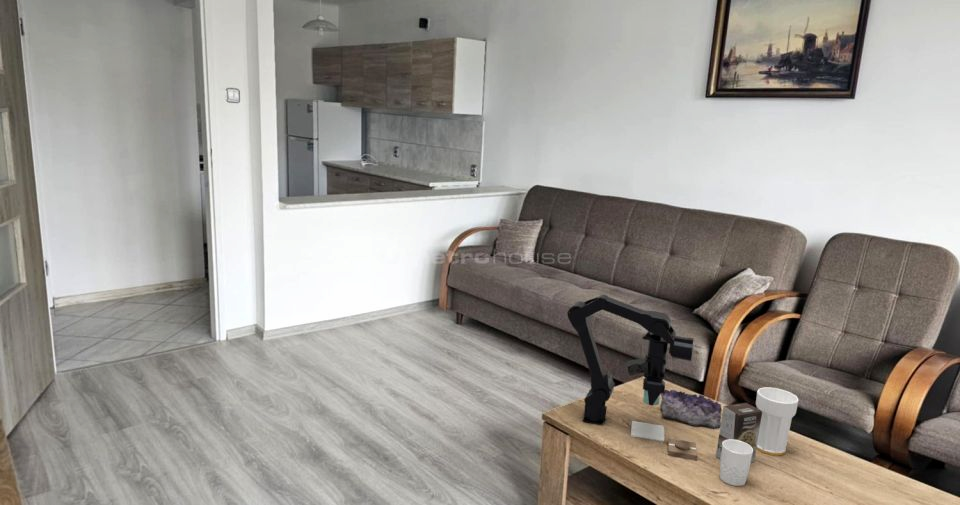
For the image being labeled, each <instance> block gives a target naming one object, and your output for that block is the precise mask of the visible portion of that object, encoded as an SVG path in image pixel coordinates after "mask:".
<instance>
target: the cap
mask: <svg viewBox="0 0 960 505" xmlns="http://www.w3.org/2000/svg"><path fill="white" fill-rule="evenodd" d="M660 399H661V394H660V395H659V397H658V398H657V400H656V401H655V403H654V404H653V405H652V406H657V405H659V404H660ZM642 401H643V403H644V404H646V405H649V399H648V391H647V390H644V389H643V398H642ZM649 406H650V405H649Z"/></svg>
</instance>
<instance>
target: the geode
mask: <svg viewBox="0 0 960 505" xmlns="http://www.w3.org/2000/svg"><path fill="white" fill-rule="evenodd" d="M660 397H661V400H660V401H661V402H660V405H659V406H660V408H661V411H662V413H661V416H662V417H664V418H667V419H672V420H677V421H679V422H681V423H684V424H688V425H690V426H692V427H697V426H698V427H699V426H705V427H706V426H707V427H709V428H711V429H713V430H715V429H720V426H721V420H722V412H723V409H722V404H721V403H719V402H718V401H715V402H714V400H712V399H711V398H706V397H705V395H703V394H699V395H697V394H689V393H686V392H685V391H682V390H680V391H677V390H675V389H670V390H667V389H665V391H664V393H661V394H660Z"/></svg>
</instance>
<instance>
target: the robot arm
mask: <svg viewBox="0 0 960 505" xmlns="http://www.w3.org/2000/svg"><path fill="white" fill-rule="evenodd" d="M600 311H605V312H606V313H607V312H608V313H610V314H613V315H615V316H618V317H620V318H623V319H626V320H628V321H631V322H633V323H636V324H638V325H639V326H641V327H642V328H643V329H644V330H646V331H647V332H645V333H644V334H643V336H642V340H647V341H648V343H647V352H646V354H645V358H635V359H631V360H627V361H626V368H627V372H628V375H629V376H634V375H636V374H638V375H639V374H643V377H644V378H643V382H642V390H643V391H644V390H647V391H648V399H649V406H654V405H653V404H654V403H655V401H656V400H657V398H658V397H659V395H660V396H661V393H664V391H665V390H666V382H665V381H664V378H665V371H666V370H665V369H666V364H667V356H668V355H667V354H669V355H670V357H672V359H676V360H677V359H678V360H683V361H689V362H692V358H693V354H694V341H695V340H694V338H692V337H683V336H677V333H676V331H675V329H674V328H673V327H672V320H671V318H670V316H669V315H668V314H666V313H665V312H660V311H655V310H645V309H641V308H638V307H636V306H633V305H631V304H628V303H625V302H623V301H620V300H618V299H615V298H613V297H610V296H608V295H606V294H600V295H599V296H597V297H593V298H590V299H588V300H586V301H576V302H575V303H574V304H572V305H571V307H570V308H569V309H568V311H567V319H568V320H569V322H570V324H571V326H572V327H573V329H574V330H575V332H576V333H577V336H578V339H579V341H580V344H581V347H582V352H583V353H584V357H585V360H586V363H587V366H588V370H589V373H590V389H589V390H588V393H586V396H585V398H584V411H583V412H584V413H583V418H582V422H583V423H589V424H595V425H602V426H603V425H604V422H606V420H607V419H606V418H607V411H608V406H607V405H606V402H608V401H609V399H610V398H611V396H612V394H613V392H614V388H615V385H616V382H614V380H613V375H612V372H609V373H607V372H606V370H605V369H604V366H603V363H602V360H601V356H600V354H599V351H598V347H597V343H596V340H595V337H594V334H593V332H592V315H594V314H597V313H598V312H600ZM668 346H669V349H668Z"/></svg>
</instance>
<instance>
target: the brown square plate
mask: <svg viewBox="0 0 960 505" xmlns="http://www.w3.org/2000/svg"><path fill="white" fill-rule="evenodd" d="M697 450H698V449H697V442H695V441H689V440H683V439H677V438H676V439H675V438H670V437H669V438H667V455H668V456H669V457H675V458H681V459H687V460H691V461H698V451H697Z"/></svg>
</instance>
